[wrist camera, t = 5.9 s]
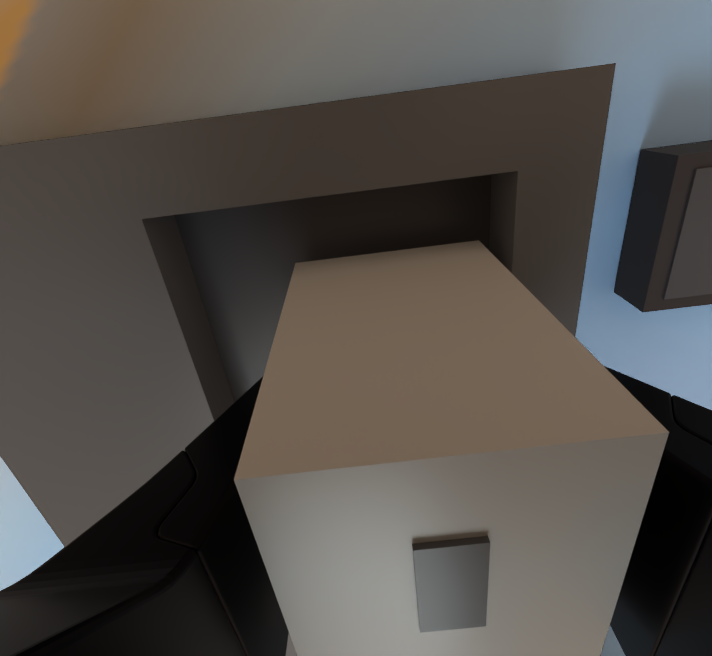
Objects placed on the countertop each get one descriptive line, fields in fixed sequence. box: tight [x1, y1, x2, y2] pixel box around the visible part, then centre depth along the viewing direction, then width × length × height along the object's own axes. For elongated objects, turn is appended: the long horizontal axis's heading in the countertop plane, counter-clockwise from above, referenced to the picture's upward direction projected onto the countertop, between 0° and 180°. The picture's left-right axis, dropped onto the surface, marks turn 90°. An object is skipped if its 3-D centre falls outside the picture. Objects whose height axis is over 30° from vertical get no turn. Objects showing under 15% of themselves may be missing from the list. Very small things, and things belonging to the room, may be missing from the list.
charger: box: [234, 240, 669, 656], centre depth 7 cm, size 4×4×6 cm
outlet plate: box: [0, 63, 616, 656], centre depth 12 cm, size 18×14×2 cm
